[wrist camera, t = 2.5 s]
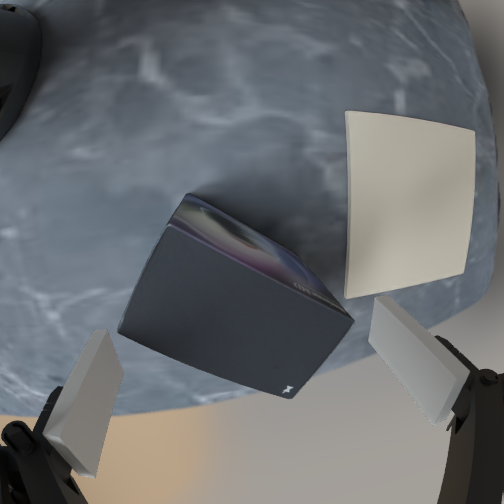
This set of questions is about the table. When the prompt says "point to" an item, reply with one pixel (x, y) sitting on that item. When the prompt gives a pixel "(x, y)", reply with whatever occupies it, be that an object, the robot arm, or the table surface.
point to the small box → (233, 303)
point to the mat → (406, 201)
